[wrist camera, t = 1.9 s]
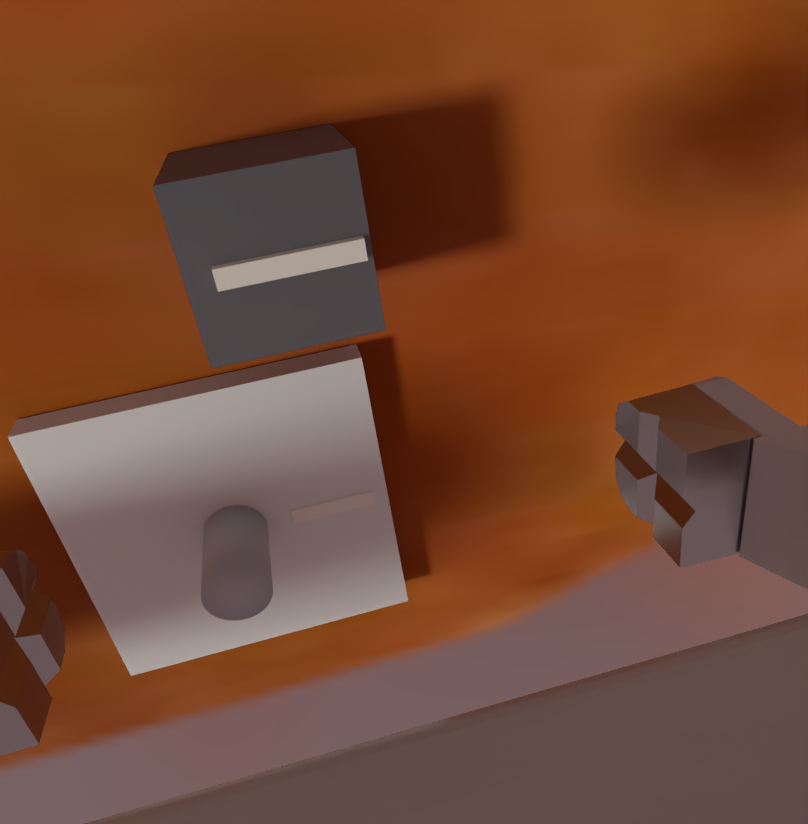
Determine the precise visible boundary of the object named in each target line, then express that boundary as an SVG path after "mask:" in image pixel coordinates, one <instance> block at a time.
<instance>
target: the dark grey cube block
mask: <svg viewBox="0 0 808 824" xmlns="http://www.w3.org/2000/svg"><path fill="white" fill-rule="evenodd" d="M153 187H154V190H155V194H156V197H157V200H158V203H159V206H160V209H161V212H162V216H163V219H164V222H165V225H166V228H167V231H168V234H169V238H170V241H171V244H172V247H173V250H174V253H175V256H176V260H177V263H178V266H179V269H180V272H181V275H182V278H183V282H184V285H185V288H186V291H187V294H188V297H189V300H190V304H191V307H192V310H193V313H194V316H195V319H196V322H197V326H198V329H199V332H200V335H201V338H202V341H203V344H204V348H205V351H206V354H207V357H208V360H209V363H210V366H211V369H212V368H216V367H221V366H225V365H230V364H234V363H239V362H244V361H248V360H253V359H257V358H262V357H266V356H271V355H275V354H280V353H284V352H289V351H293V350H298V349H302V348H307V347H311V346H316V345H320V344H325V343H329V342H334V341H338V340H343V339H347V338H352V337H356V336H361V335H365V334H370V333H374V332H379V331H383V330H386V328H385V322H384V316H383V310H382V304H381V298H380V293H379V287H378V281H377V275H376V269H375V263H374V257H373V251H372V245H371V239H370V233H369V227H368V221H367V215H366V209H365V203H364V197H363V191H362V185H361V179H360V173H359V167H358V161H357V155H356V149H355V147H354V146H353V145H352V144H351V143H350V142H349V141H348V140H347V139H346V138H345V137H344V136H343V135H341V134H340V133H339V132H338V131H337V130H336V129H335V128H334V127H333V126H332V125H331V124H325V125H320V126H314V127H309V128H303V129H298V130H292V131H287V132H281V133H276V134H270V135H265V136H260V137H254V138H249V139H243V140H238V141H232V142H227V143H221V144H216V145H210V146H205V147H199V148H194V149H189V150H183V151H178V152H172V153H168V155H167V157H166V159H165V161H164V163H163V165H162V168H161V170H160V172H159V174H158V176H157V178H156V180H155V183H154V185H153Z"/></svg>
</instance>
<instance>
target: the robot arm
mask: <svg viewBox="0 0 808 824" xmlns="http://www.w3.org/2000/svg"><path fill="white" fill-rule="evenodd" d="M615 430H616V431H617V432H618V433H619V434H620V435H621V436H622V437H623V438H624V439H625V442H624V443H623V445H622V446H621V448H620V449H619V451H618V452H617V454H616V456H615V465H616V478H617V482H618V485H619V489H620V492H621V495H622V497H623V499H624V500H625V502H626V504H627V506H628V507H629V509H630V510H631V511H632V512H633V513H634V515H635V516H636V517H637V518H640V519H643V520H645V521H648V522H650V523H653V524H654V529H653V537H654V538H655V540H656V541H657V542H658V543H659V544H660V545H661V547H662V548H663V549H664V550H665V551H666V552H667V553H668V555H669V556H670V557H671V558H672V559H673V560H674V562H675V563H676V564H677V565H678V566H679V567H680V568H681V567H685V566H689V565H694V564H697V563H702V562H706V561H710V560H713V559H718V558H722V557H726V556H730V555H734V554H738V553H740V554H739V556H740V557H742V558H744V559H746V560H748V561H750V562H752V563H755V564H757V565H759V566H761V567H763V568H765V569H767V570H769V571H771V572H773V573H775V574H777V575H779V576H781V577H783V578H786V579H788V580H790V581H792V582H794V583H796V584H798V585H800V586H802V587H804V588H806V589H808V425H806V426H802V427H801V426H799V425H798V424H796V423H795V422H793V421H792V420H790V419H789V418H787V417H786V416H784V415H783V414H781V413H780V412H778V411H777V410H775V409H774V408H772V407H771V406H769V405H768V404H766V403H765V402H763V401H762V400H760V399H759V398H757V397H756V396H754V395H753V394H751V393H750V392H748V391H747V390H745V389H744V388H742V387H741V386H739V385H738V384H736V383H735V382H733V381H732V380H730V379H729V378H726V377H720V376H717V377H713V378H710V379H706V380H703V381H699V382H695V383H692V384H688V385H685V386H683V387H679V388H675V389H671V390H668V391H664V392H660V393H656V394H653V395H649V396H645V397H641V398H638V399H634V400H630V401H626V402H623V403H619V405H618V408H617V412H616V424H615ZM37 574H38V572H37V570H36V568H35V567H34V565H33V563H32V562H31V560H30V558H29V557H28V555H27V553H25V552H22V551H20V550H18V549H13V550H9V551H4V552H0V756H2V755H5V754H9V753H12V752H15V751H19V750H22V749H25V748H28V747H32V746H35V745H38V744H39V743H40V739H41V736H42V732H43V729H44V725H45V722H46V718H47V715H48V711H49V708H50V704H51V701H52V697H51V695H50V694H49V692H48V690H47V689H46V687H45V685H46V684H47V683H48V682H49V681H50V680H51V679H52V678H53V677H54V676H55V675H56V674H57V673H58V671H59V670H60V669H61V665H62V661H63V657H64V653H65V637H64V627H63V623H62V620H61V616H60V613H59V611H58V609H57V607H56V605H55V603H54V601H53V599H52V598H51V597H49V596H47V595H45V594H43V593H41V592H39V591H37V590H35V589H33V586H34V583H35V580H36V577H37ZM85 824H808V614H805V615H802V616H798V617H795V618H792V619H788V620H785V621H782V622H778V623H775V624H771V625H768V626H764V627H761V628H758V629H754V630H751V631H747V632H744V633H741V634H737V635H734V636H730V637H727V638H723V639H720V640H716V641H713V642H709V643H706V644H702V645H699V646H696V647H692V648H688V649H685V650H681V651H678V652H675V653H671V654H668V655H664V656H661V657H657V658H654V659H650V660H647V661H643V662H640V663H636V664H633V665H629V666H626V667H622V668H619V669H616V670H612V671H609V672H606V673H602V674H599V675H595V676H591V677H588V678H584V679H581V680H577V681H574V682H570V683H567V684H563V685H560V686H557V687H553V688H550V689H546V690H543V691H539V692H536V693H533V694H529V695H525V696H522V697H518V698H515V699H511V700H508V701H505V702H501V703H498V704H494V705H491V706H487V707H484V708H480V709H477V710H474V711H470V712H467V713H463V714H460V715H456V716H453V717H450V718H446V719H443V720H439V721H436V722H432V723H429V724H426V725H422V726H419V727H415V728H412V729H408V730H405V731H401V732H398V733H395V734H391V735H388V736H384V737H381V738H378V739H374V740H371V741H367V742H364V743H360V744H357V745H354V746H350V747H347V748H343V749H340V750H336V751H333V752H329V753H326V754H323V755H319V756H316V757H312V758H309V759H306V760H302V761H299V762H295V763H292V764H288V765H285V766H281V767H278V768H275V769H271V770H268V771H264V772H261V773H257V774H254V775H251V776H248V777H244V778H241V779H237V780H233V781H230V782H227V783H223V784H220V785H216V786H213V787H210V788H206V789H202V790H199V791H196V792H192V793H189V794H185V795H182V796H178V797H175V798H171V799H168V800H165V801H161V802H158V803H154V804H151V805H147V806H144V807H141V808H137V809H134V810H131V811H127V812H123V813H120V814H116V815H113V816H110V817H106V818H103V819H99V820H96V821H92V822H89V823H85Z"/></svg>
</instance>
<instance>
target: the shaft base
mask: <svg viewBox="0 0 808 824" xmlns="http://www.w3.org/2000/svg"><path fill="white" fill-rule="evenodd" d="M8 439H9V441H10V443H11V445H12V447H13V449H14V451H15V453H16V455H17V456H18V458H19V460H20V462H21V464H22V466H23V468H24V470H25V472H26V474H27V476H28V478H29V480H30V482H31V484H32V485H33V487H34V489H35V491H36V493H37V495H38V497H39V499H40V501H41V503H42V505H43V507H44V509H45V511H46V513H47V514H48V516H49V518H50V520H51V522H52V524H53V526H54V528H55V530H56V532H57V534H58V536H59V538H60V540H61V542H62V543H63V545H64V547H65V549H66V551H67V553H68V555H69V557H70V559H71V561H72V563H73V565H74V567H75V569H76V571H77V572H78V574H79V576H80V578H81V580H82V582H83V584H84V586H85V588H86V590H87V592H88V594H89V596H90V598H91V600H92V601H93V603H94V605H95V607H96V609H97V611H98V613H99V615H100V617H101V619H102V621H103V623H104V625H105V627H106V629H107V630H108V632H109V634H110V636H111V638H112V640H113V642H114V644H115V646H116V648H117V650H118V652H119V654H120V656H121V658H122V659H123V661H124V663H125V665H126V667H127V669H128V671H129V673H130V675H131V676H132V675H136V674H140V673H143V672H147V671H151V670H155V669H158V668H162V667H166V666H169V665H173V664H177V663H180V662H184V661H188V660H192V659H195V658H199V657H203V656H206V655H210V654H214V653H217V652H221V651H225V650H228V649H232V648H236V647H240V646H243V645H247V644H251V643H254V642H258V641H262V640H265V639H269V638H273V637H277V636H280V635H284V634H288V633H291V632H295V631H299V630H302V629H306V628H310V627H314V626H317V625H321V624H325V623H328V622H332V621H336V620H339V619H343V618H347V617H350V616H354V615H358V614H362V613H365V612H369V611H373V610H376V609H380V608H384V607H387V606H391V605H395V604H399V603H402V602H406V601H408V597H407V592H406V587H405V582H404V576H403V571H402V566H401V561H400V556H399V550H398V545H397V540H396V535H395V529H394V524H393V519H392V514H391V508H390V503H389V498H388V493H387V487H386V482H385V477H384V472H383V466H382V461H381V456H380V451H379V446H378V440H377V435H376V430H375V425H374V419H373V414H372V409H371V404H370V398H369V393H368V388H367V383H366V377H365V372H364V367H363V362H362V357H361V355H360V352H359V350H358V347H357V345H356V344H354V345H350V346H345V347H341V348H336V349H332V350H327V351H323V352H318V353H314V354H309V355H305V356H300V357H296V358H291V359H287V360H283V361H278V362H274V363H269V364H265V365H260V366H256V367H251V368H247V369H242V370H238V371H233V372H229V373H224V374H220V375H215V376H211V377H206V378H202V379H197V380H193V381H188V382H184V383H179V384H175V385H170V386H166V387H161V388H157V389H152V390H148V391H143V392H139V393H134V394H130V395H125V396H121V397H116V398H112V399H108V400H103V401H99V402H94V403H90V404H85V405H81V406H76V407H72V408H67V409H63V410H58V411H54V412H49V413H45V414H40V415H36V416H31V417H27V418H22V419H18V420H17V421H16V422H15V424H14V426H13V428H12V430H11V432H10V434H9V436H8Z"/></svg>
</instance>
